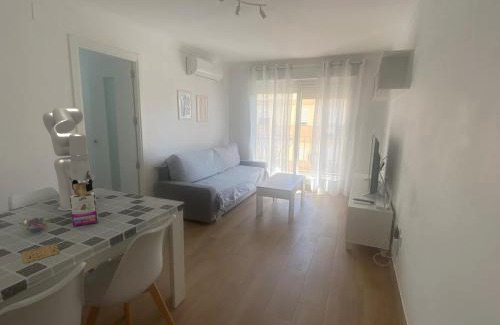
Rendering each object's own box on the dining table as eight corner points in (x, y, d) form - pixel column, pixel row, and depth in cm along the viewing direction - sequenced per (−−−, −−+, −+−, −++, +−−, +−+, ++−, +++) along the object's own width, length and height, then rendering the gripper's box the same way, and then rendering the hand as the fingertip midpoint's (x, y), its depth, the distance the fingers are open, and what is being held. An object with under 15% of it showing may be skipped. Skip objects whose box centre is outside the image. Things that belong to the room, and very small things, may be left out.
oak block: (74, 194, 133) (73, 184, 132) (83, 191, 138) (83, 182, 137) (82, 195, 131) (81, 185, 130) (91, 193, 136) (90, 183, 136)
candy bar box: (98, 219, 142) (95, 191, 139) (97, 223, 138) (95, 193, 135) (74, 223, 137) (70, 193, 134) (72, 226, 133) (69, 196, 130)
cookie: (20, 253, 107) (20, 251, 107) (56, 244, 116) (55, 242, 116) (23, 265, 99) (22, 263, 99) (61, 254, 108) (61, 252, 107)
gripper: (60, 157, 131) (63, 190, 134) (85, 160, 125) (88, 193, 128) (74, 155, 138) (77, 186, 141) (98, 158, 132) (101, 189, 135)
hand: (82, 190), depth 134 cm, fingers open, 9 cm apart
